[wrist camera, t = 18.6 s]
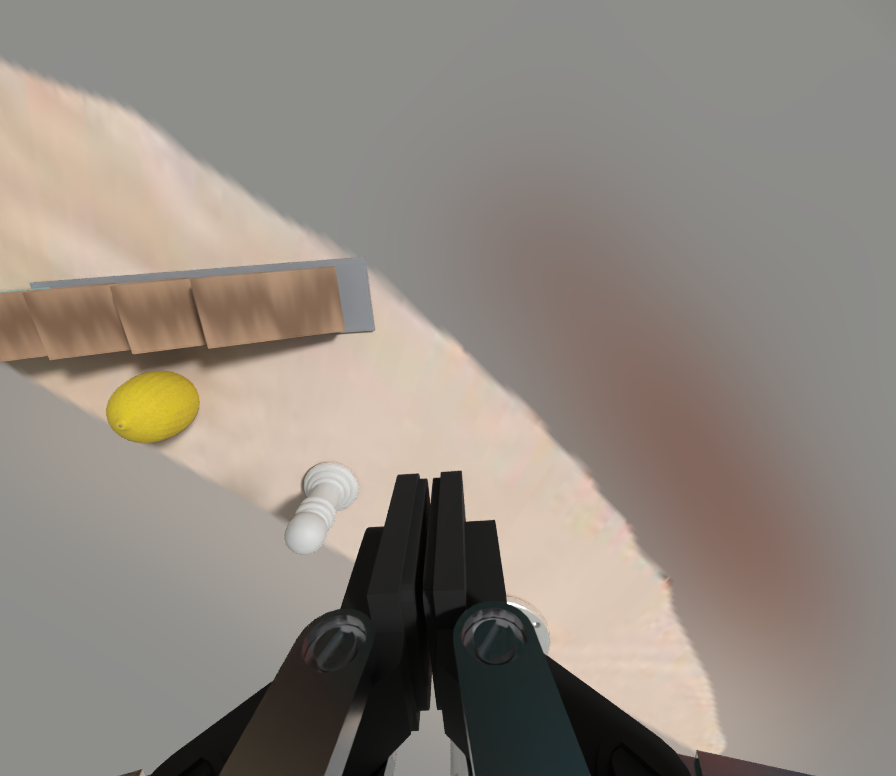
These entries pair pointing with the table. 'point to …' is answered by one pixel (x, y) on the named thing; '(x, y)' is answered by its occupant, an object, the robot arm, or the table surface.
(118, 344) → the domino
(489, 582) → the robot arm
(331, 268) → the domino
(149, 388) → the lemon
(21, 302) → the domino
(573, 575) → the table surface
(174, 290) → the domino
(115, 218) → the table surface
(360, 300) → the grey flat board
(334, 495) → the chess piece
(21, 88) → the table surface
